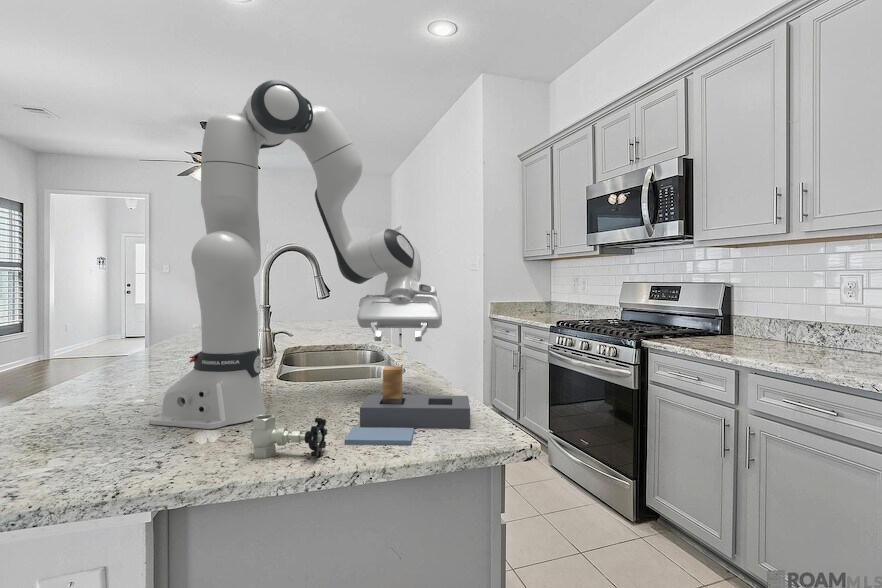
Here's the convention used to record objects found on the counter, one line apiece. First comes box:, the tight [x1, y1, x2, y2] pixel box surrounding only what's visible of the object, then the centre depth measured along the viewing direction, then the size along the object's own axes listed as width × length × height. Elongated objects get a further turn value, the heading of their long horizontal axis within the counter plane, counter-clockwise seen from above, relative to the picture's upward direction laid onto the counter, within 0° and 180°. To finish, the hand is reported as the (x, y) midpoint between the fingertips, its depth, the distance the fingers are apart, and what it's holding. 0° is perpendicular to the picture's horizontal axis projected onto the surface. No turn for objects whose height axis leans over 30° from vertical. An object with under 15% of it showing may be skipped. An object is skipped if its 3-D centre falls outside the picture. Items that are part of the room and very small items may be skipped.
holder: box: [359, 394, 471, 429], centre depth 100 cm, size 22×10×4 cm, turn 89°
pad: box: [343, 426, 415, 446], centre depth 89 cm, size 12×7×1 cm, turn 89°
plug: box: [382, 365, 404, 405], centre depth 100 cm, size 4×4×11 cm
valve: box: [250, 413, 328, 459], centre depth 80 cm, size 7×7×12 cm
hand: (398, 339), depth 110 cm, fingers open, 8 cm apart
